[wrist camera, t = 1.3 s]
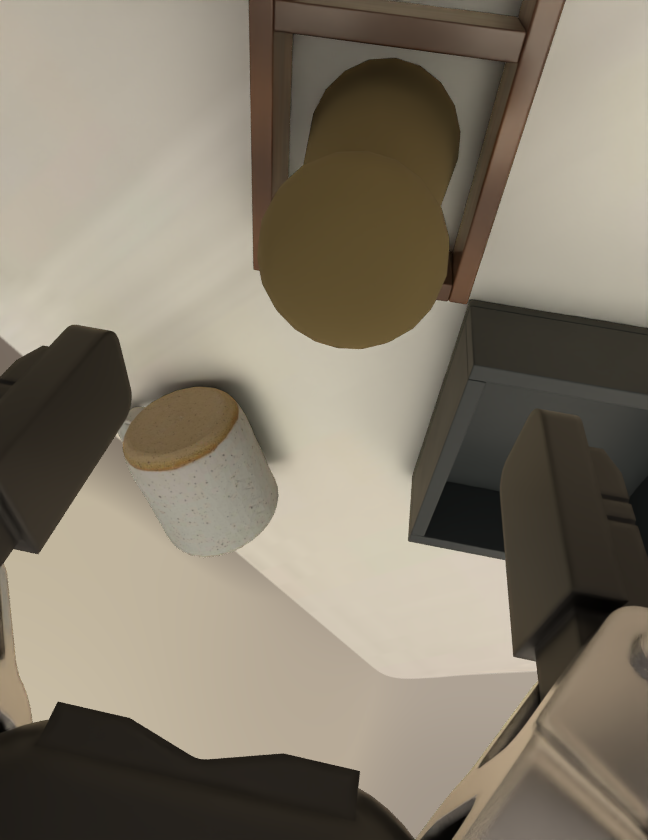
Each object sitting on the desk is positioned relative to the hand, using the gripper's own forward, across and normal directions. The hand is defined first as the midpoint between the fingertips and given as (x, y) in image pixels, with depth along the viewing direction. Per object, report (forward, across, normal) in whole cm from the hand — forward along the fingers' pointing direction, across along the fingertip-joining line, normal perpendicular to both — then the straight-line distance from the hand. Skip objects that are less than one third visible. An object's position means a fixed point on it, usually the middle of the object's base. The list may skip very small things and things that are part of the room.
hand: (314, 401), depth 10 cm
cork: (+15, 0, 0) cm, 15 cm away
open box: (+15, -12, +13) cm, 23 cm away
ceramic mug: (+15, +9, +19) cm, 26 cm away
